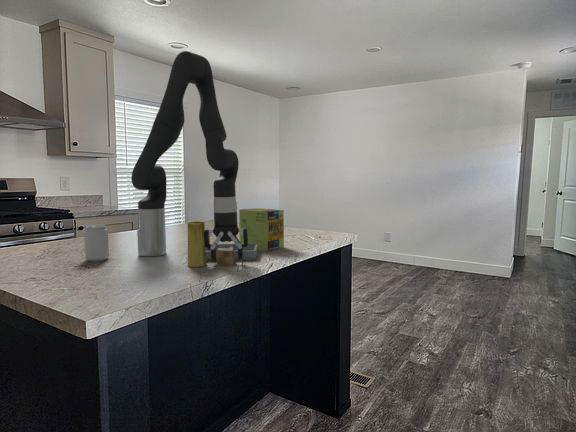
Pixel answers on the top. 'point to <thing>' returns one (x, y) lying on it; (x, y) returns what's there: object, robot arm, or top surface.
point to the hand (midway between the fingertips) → (227, 260)
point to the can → (96, 243)
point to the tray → (236, 251)
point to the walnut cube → (225, 256)
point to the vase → (196, 244)
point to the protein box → (263, 227)
